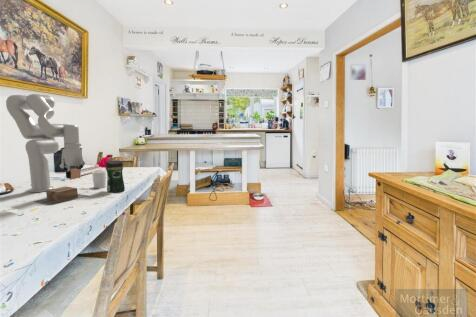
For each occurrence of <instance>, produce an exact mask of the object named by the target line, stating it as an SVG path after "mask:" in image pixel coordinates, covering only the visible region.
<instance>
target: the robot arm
mask: <svg viewBox="0 0 476 317" xmlns="http://www.w3.org/2000/svg"><path fill="white" fill-rule="evenodd" d="M5 103H6V105H5V108H6V110H7V112H8V114H9V115H10V116H11V117H12V119H13V120H14V121H15V122H14V123H15V124H16V126H17V128H18V129H19V132H20V133H21V136H22V137H23V138H24V139H26V140H28V141H26V142H25V143H26V144H25V151H26V154H27V158H28V164H29V166H28V167H29V175H30V188H29V189H28V192H29V193H42V192H46V190H50V189H55V188H54V186H51V178H50V168H49V167H50V166H49V160H48V158H47V157H46V156H45V155H50V154H51V155H52V154H55V153H57V152H58V151H59V149H60V145H59V142H58V140H57V138H63V149H62V150H61V151H62V152H61V163H60V164H59V168H61V169H62V170H64V171H65V177H66V179H69V178H71V173H70V169H71V167H75V169H80V171H82V168H83V167H84V166H85V165H86V162H85V161H84V160H83V154H82V149H81V148H80V147H81V146H82V144H81V143H80V132H79V131H80V130H79V126H78V125H77V124H66V123H51V122H50V121H49V120H50V119H51V118H53V116H54V115H55V111H54V107H55V104H56V102H55V100H54V98H53V97H52V96H50V95H46V94H38V93H31V94H29V95H25V94H24V95H22V94H12V95H9V96H8V97H7V98H6V100H5ZM25 110H29V111H30V110H31V111H33V112H34V114H35V115H36V116H37V123H35V121H34V119H33V118H32V116H31V115H30V114H29V113H28V112H26V111H25Z"/></svg>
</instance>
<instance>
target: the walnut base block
mask: <svg viewBox="0 0 476 317" xmlns="http://www.w3.org/2000/svg"><path fill="white" fill-rule="evenodd" d="M45 193H46V199H47V200H51V201H56V202H61V201H65V200H69V199H73V198H78V194H79V193H78V188H77V187H71V186H62V187H57V188H54V189H50V190H46V191H45Z"/></svg>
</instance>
